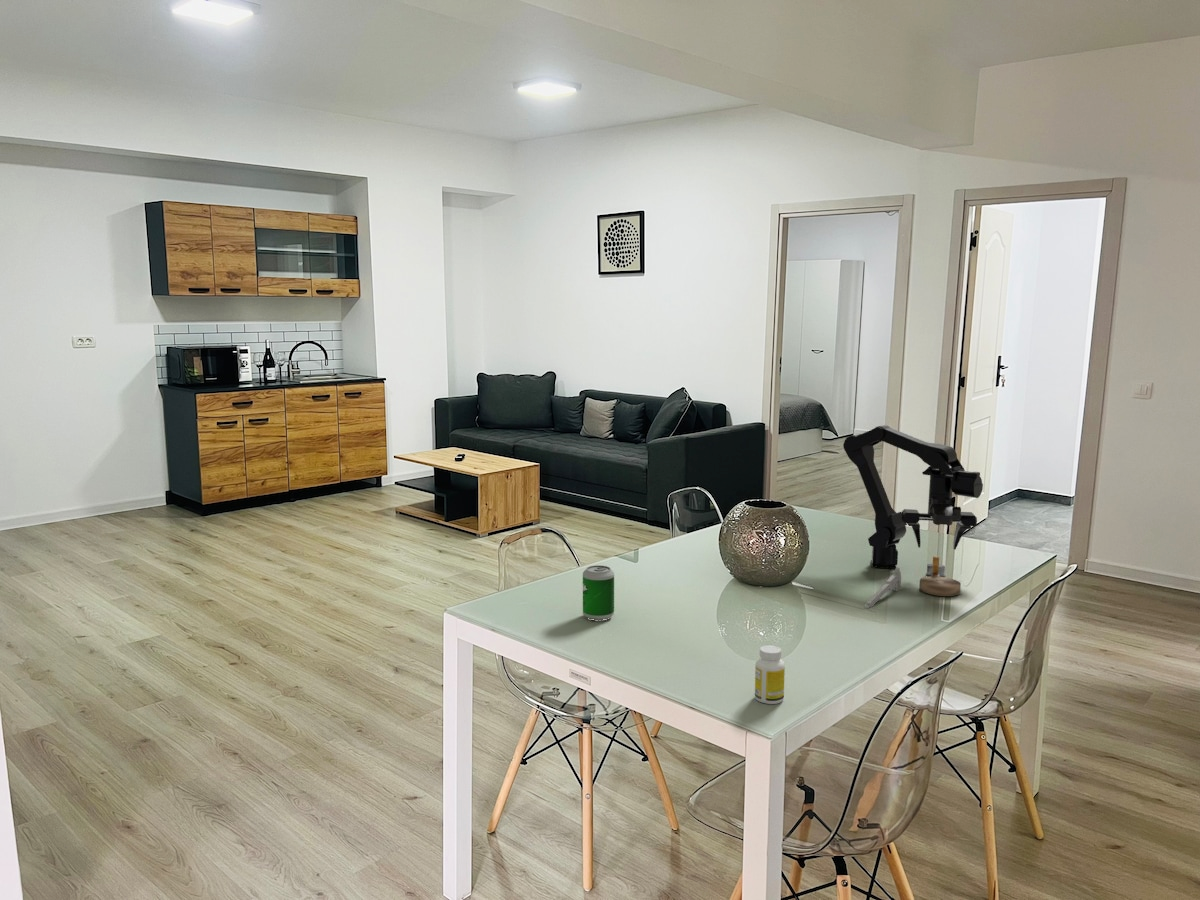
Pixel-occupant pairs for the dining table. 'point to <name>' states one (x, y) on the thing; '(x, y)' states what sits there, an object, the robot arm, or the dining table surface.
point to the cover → (941, 570)
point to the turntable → (939, 583)
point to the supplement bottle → (769, 676)
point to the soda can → (598, 592)
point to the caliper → (886, 588)
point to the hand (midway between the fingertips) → (936, 548)
